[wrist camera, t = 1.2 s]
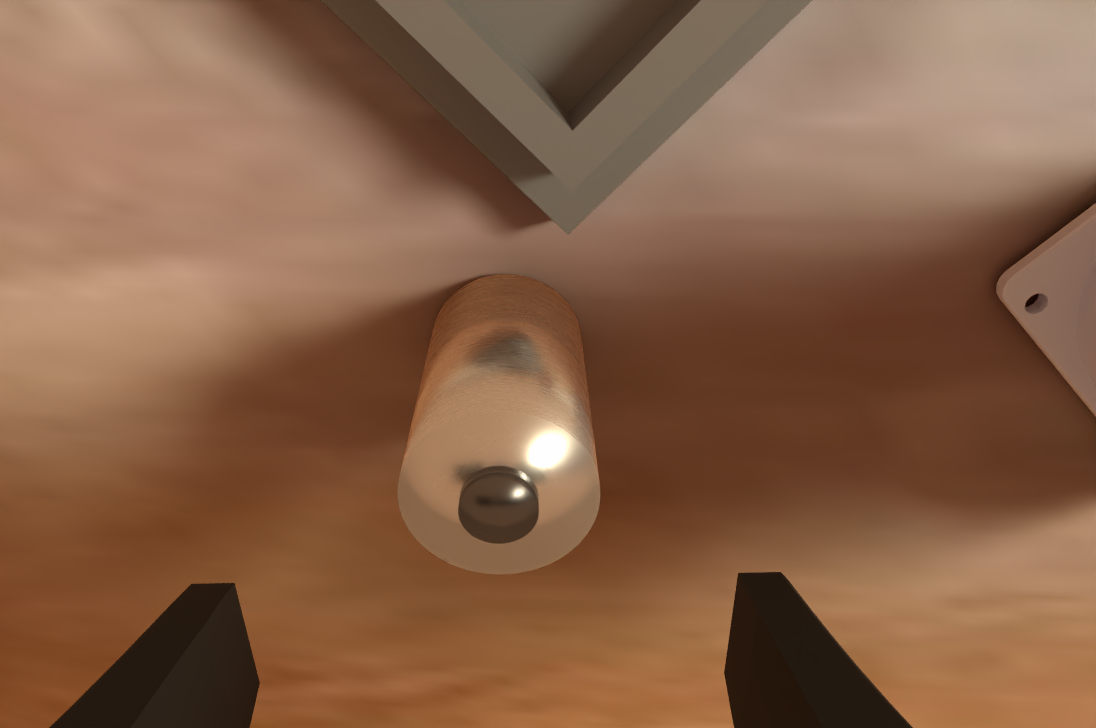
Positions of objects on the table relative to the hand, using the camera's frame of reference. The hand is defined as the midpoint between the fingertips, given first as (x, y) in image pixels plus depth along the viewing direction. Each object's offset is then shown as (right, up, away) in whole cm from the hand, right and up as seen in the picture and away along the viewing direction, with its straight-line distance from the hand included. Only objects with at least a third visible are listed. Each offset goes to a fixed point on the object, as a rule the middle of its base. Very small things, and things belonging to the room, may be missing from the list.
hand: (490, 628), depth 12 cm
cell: (0, +4, +8) cm, 9 cm away
